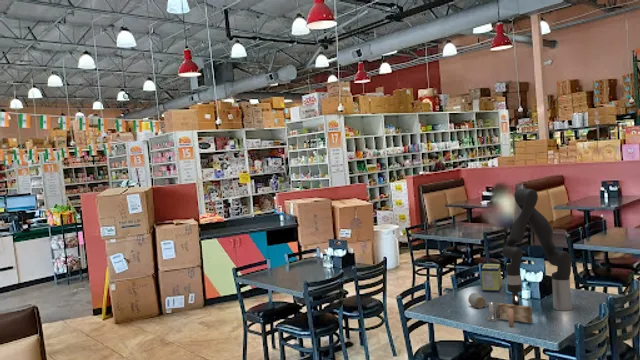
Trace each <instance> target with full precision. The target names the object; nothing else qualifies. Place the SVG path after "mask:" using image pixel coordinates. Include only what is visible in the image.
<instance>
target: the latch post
mask: <svg viewBox="0 0 640 360" xmlns="http://www.w3.org/2000/svg"><path fill="white" fill-rule="evenodd" d="M508 315H509V320H508V327H510V328H513V327H515V321H514V317H513V309H508Z"/></svg>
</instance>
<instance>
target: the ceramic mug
mask: <svg viewBox="0 0 640 360" xmlns="http://www.w3.org/2000/svg"><path fill="white" fill-rule="evenodd" d="M468 303H469V304H470V305H471V306H472V307H474V308H477V309H482V308H484V307H489V302H486V299H485V298H484V297H483V296H482V295H480V294H479V293H477V292H472V293H470V294H469V296H468Z"/></svg>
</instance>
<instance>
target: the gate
mask: <svg viewBox="0 0 640 360" xmlns="http://www.w3.org/2000/svg"><path fill="white" fill-rule="evenodd" d="M494 304H495V317H496V318H497V319H501V320H507V321H509V315H508V309H513V317H514V322H515V321H516V322H523V323H529V324H532V323H533V319H534V318H533V306H529V305H520V304H519V305H513V304H511V303H502V302H501V303H500V302H494Z"/></svg>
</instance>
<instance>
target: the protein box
mask: <svg viewBox="0 0 640 360" xmlns="http://www.w3.org/2000/svg"><path fill="white" fill-rule="evenodd" d="M482 265H483V266H482V267H481V282H482V283H481V284H482V292H483V293H500V291H501V289H502V287H503V286H502V272H501V264H500V263H483V264H482Z"/></svg>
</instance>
